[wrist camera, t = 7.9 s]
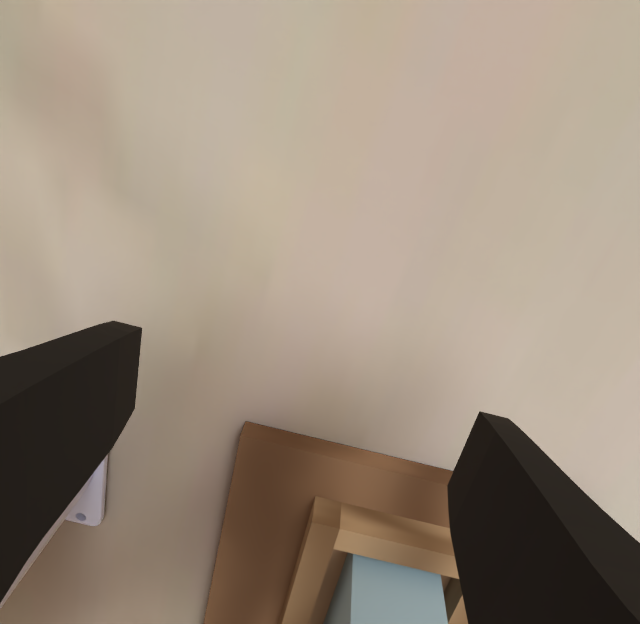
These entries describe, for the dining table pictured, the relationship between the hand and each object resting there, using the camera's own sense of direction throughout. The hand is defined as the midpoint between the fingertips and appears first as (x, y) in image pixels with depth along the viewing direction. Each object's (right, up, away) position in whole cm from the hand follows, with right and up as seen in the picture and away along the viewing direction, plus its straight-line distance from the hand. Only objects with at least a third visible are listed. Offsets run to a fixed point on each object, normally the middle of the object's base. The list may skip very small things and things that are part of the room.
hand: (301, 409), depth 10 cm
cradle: (+3, -13, +15) cm, 20 cm away
